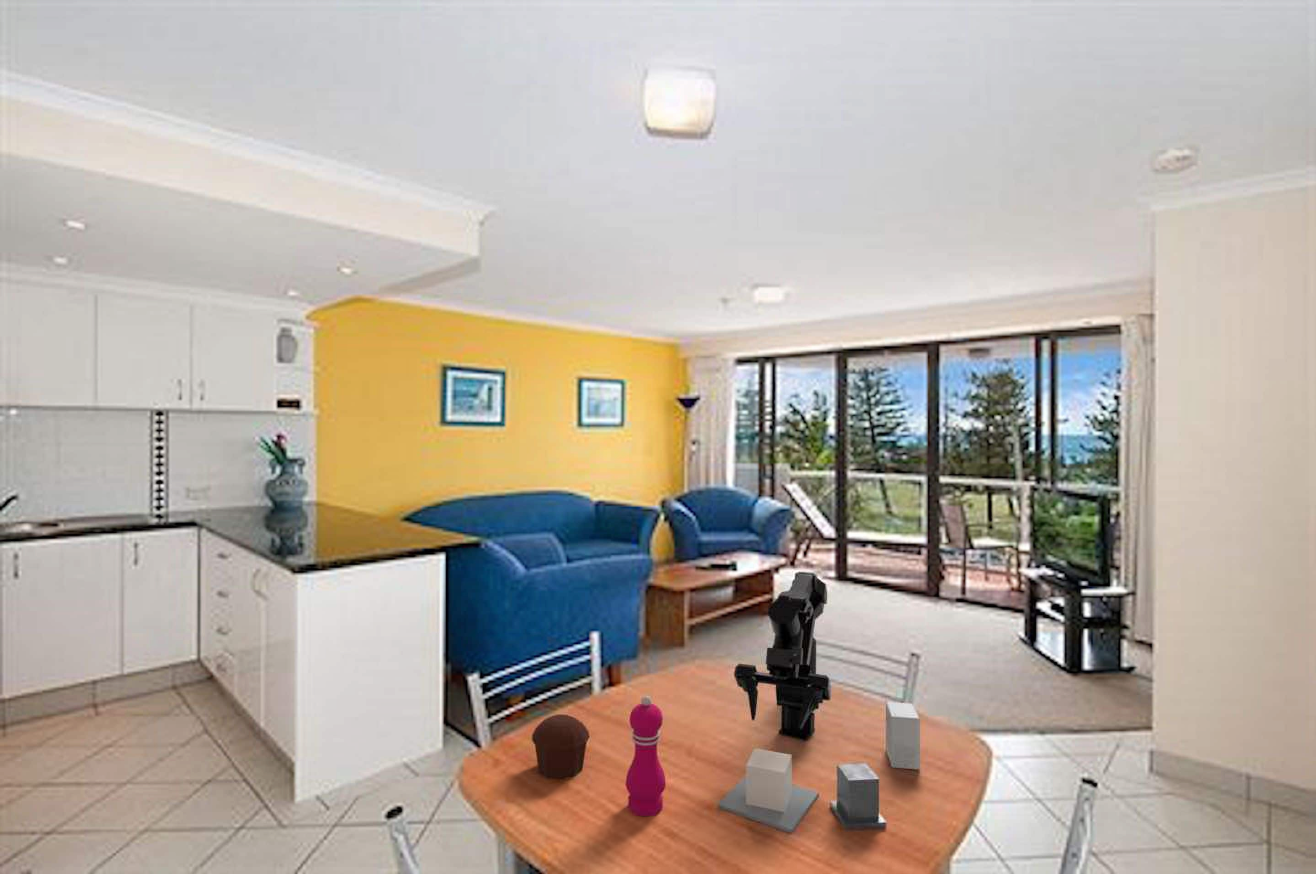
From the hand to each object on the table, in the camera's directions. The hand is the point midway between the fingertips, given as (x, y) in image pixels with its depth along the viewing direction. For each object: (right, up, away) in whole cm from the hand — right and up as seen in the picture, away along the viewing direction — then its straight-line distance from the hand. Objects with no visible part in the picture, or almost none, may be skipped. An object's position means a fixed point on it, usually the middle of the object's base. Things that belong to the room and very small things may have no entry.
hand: (776, 723), depth 125 cm
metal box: (+12, -12, -11) cm, 20 cm away
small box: (+28, -12, +10) cm, 32 cm away
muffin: (-43, -12, +6) cm, 44 cm away
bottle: (+15, -12, +43) cm, 47 cm away
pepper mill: (-25, -12, -8) cm, 29 cm away
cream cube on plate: (-2, -11, -6) cm, 13 cm away
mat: (-2, -12, -6) cm, 13 cm away
